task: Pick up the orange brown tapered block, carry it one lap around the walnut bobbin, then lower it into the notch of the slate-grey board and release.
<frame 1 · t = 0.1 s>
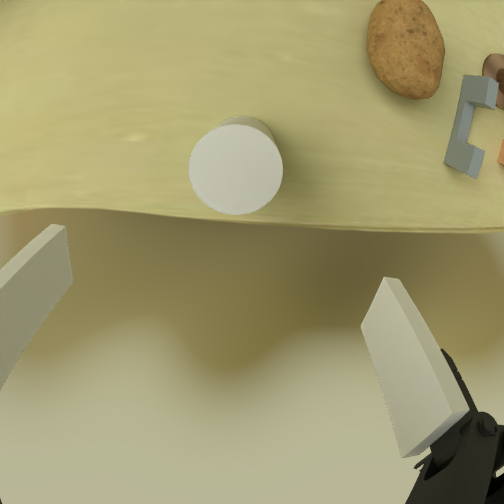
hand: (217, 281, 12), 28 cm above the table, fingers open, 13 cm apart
potato: (391, 47, 29), on the table
cup: (241, 147, 36), on the table
notch board: (460, 120, 32), on the table
bobbin: (501, 81, 28), on the table
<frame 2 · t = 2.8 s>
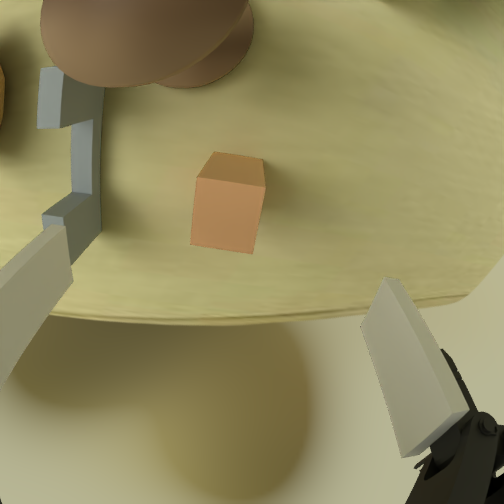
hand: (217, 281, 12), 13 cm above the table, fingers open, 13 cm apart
notch board: (90, 152, 21), on the table
orange brown tapered block: (234, 180, 22), on the table
bobbin: (189, 30, 17), on the table
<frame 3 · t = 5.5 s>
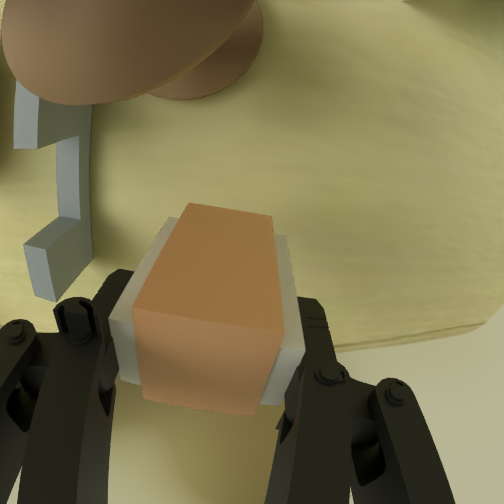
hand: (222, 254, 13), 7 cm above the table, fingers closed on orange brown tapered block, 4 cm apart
notch board: (78, 172, 19), on the table
orange brown tapered block: (223, 250, 14), point 7 cm above the table, touching gripper
bobbin: (188, 32, 14), on the table
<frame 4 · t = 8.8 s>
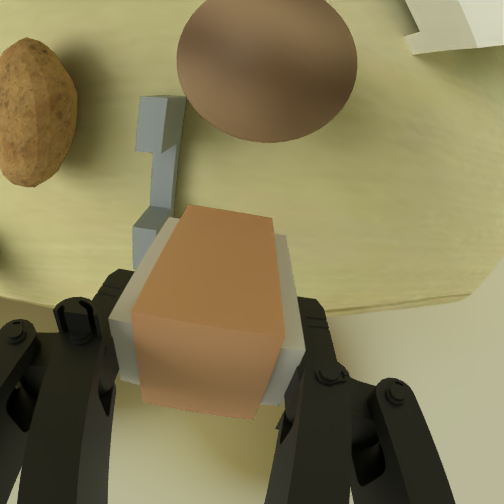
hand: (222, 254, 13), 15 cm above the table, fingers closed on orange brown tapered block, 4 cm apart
potato: (56, 104, 23), on the table
notch board: (166, 171, 26), on the table
orange brown tapered block: (223, 251, 14), point 14 cm above the table, touching gripper
bobbin: (262, 73, 22), on the table
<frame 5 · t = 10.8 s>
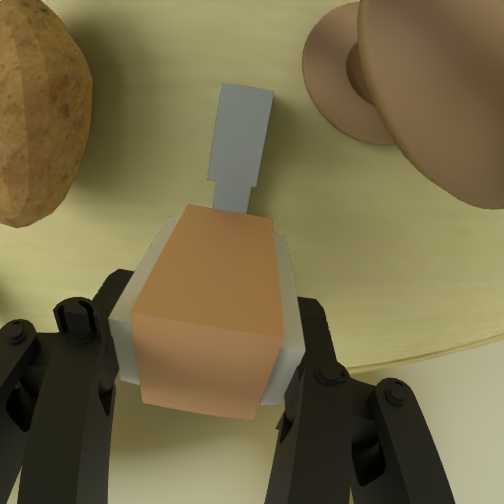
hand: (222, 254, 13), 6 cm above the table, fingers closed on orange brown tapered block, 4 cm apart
potato: (58, 96, 15), on the table
notch board: (231, 201, 19), on the table
orange brown tapered block: (223, 252, 14), point 6 cm above the table, touching gripper
bobbin: (375, 72, 15), on the table
when the fingers open (1 cm above the table, at t = 12.0 s): orange brown tapered block stays where it is, resting on notch board.
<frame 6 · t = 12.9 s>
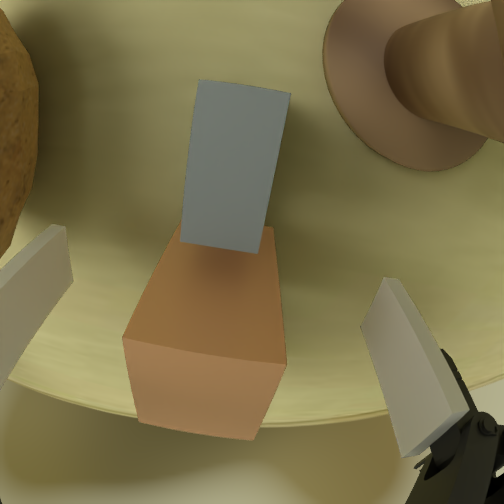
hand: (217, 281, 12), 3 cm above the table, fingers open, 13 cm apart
potato: (9, 107, 11), on the table
notch board: (225, 242, 14), on the table
orange brown tapered block: (222, 262, 13), point 1 cm above the table, touching notch board
bobbin: (418, 71, 10), on the table
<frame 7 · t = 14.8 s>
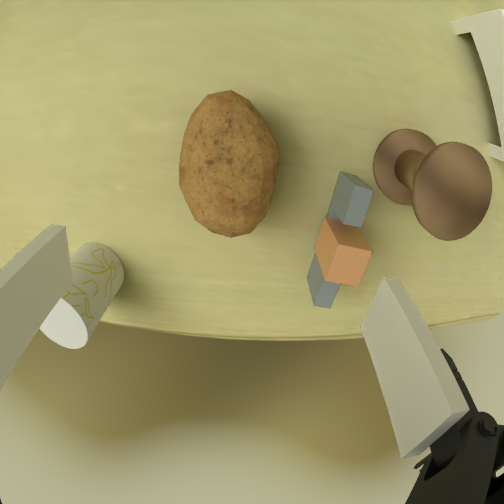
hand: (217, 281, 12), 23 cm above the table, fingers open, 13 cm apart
potato: (231, 155, 32), on the table
cup: (99, 268, 39), on the table
notch board: (331, 229, 35), on the table
orange brown tapered block: (333, 235, 34), point 1 cm above the table, touching notch board
bobbin: (407, 166, 31), on the table
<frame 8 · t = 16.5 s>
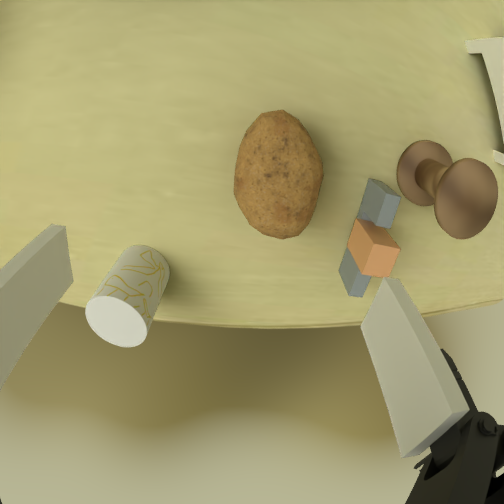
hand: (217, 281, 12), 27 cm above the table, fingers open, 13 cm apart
potato: (275, 164, 36), on the table
cup: (144, 268, 43), on the table
notch board: (360, 228, 39), on the table
orange brown tapered block: (363, 234, 38), point 1 cm above the table, touching notch board
bobbin: (424, 172, 35), on the table
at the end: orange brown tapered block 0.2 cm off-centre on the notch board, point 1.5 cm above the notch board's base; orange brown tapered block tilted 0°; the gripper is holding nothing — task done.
